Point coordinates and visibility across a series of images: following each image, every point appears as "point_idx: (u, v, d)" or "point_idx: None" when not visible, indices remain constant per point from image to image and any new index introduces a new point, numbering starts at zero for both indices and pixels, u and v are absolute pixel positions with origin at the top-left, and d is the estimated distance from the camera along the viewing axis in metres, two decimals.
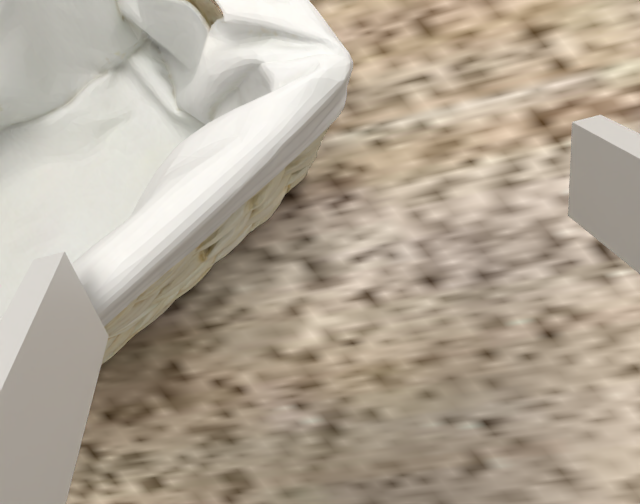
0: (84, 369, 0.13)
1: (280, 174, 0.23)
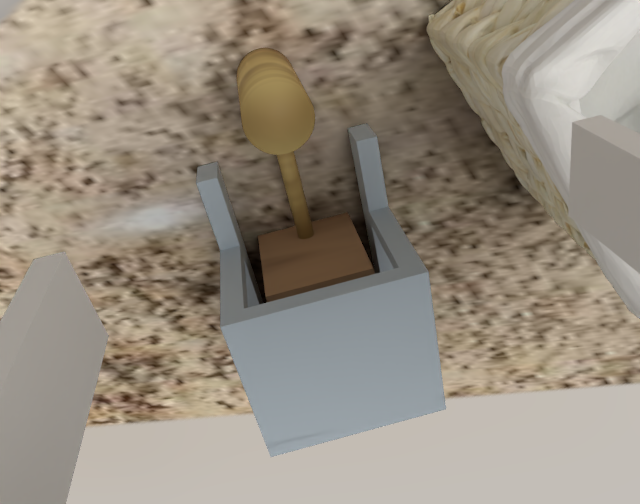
0: (84, 369, 0.13)
1: None
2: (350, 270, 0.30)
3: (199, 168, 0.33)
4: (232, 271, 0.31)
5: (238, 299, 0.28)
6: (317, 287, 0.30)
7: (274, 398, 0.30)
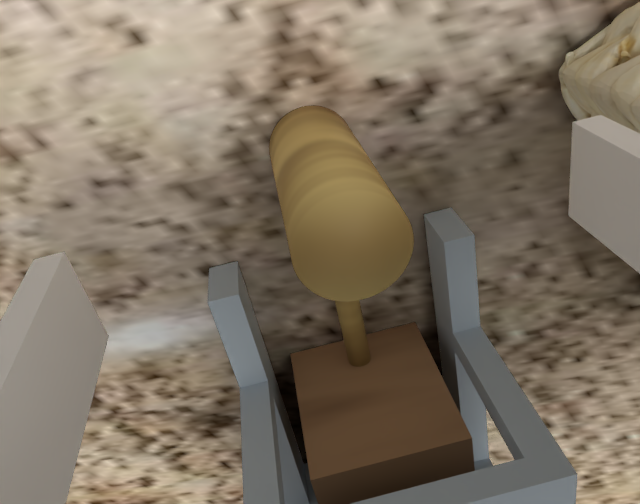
0: (83, 369, 0.13)
1: None
2: (436, 439, 0.20)
3: (211, 272, 0.23)
4: (259, 433, 0.21)
5: (271, 498, 0.18)
6: (387, 465, 0.20)
7: None
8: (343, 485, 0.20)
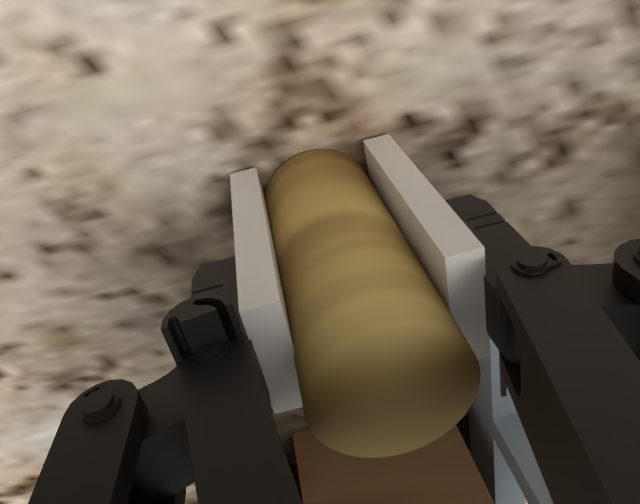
0: None
1: None
2: None
3: None
4: None
5: None
6: None
7: None
8: None
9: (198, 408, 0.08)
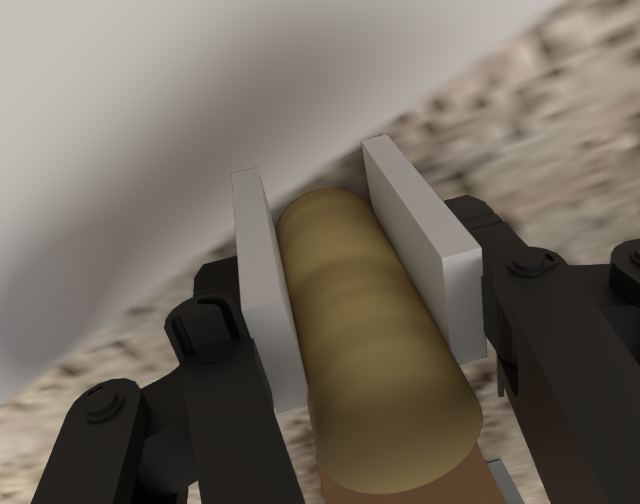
0: (282, 264, 0.15)
1: None
2: None
3: None
4: None
5: None
6: None
7: None
8: None
9: (201, 407, 0.08)
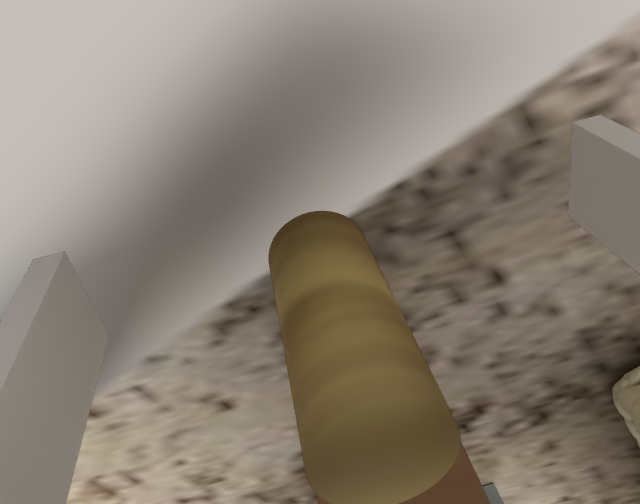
0: (83, 369, 0.13)
1: None
2: None
3: None
4: None
5: None
6: None
7: None
8: None
9: None
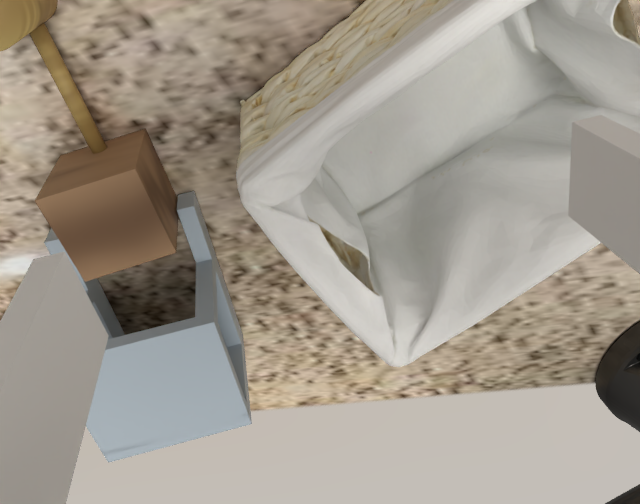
0: (84, 369, 0.13)
1: None
2: (115, 173, 0.32)
3: None
4: None
5: None
6: (84, 190, 0.32)
7: (102, 417, 0.37)
8: (59, 206, 0.32)
9: None
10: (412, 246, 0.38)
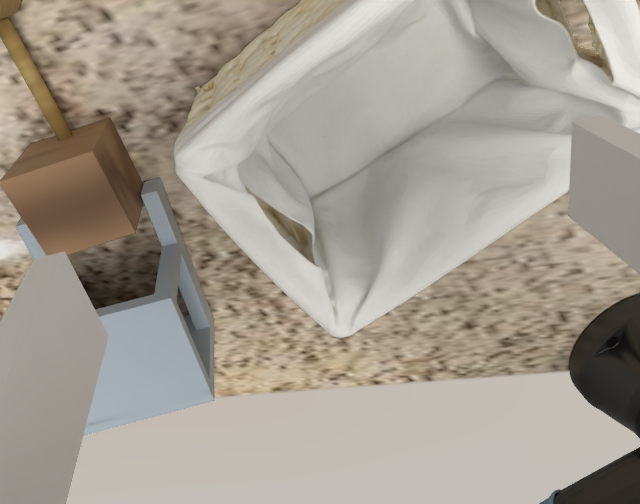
0: (84, 369, 0.13)
1: None
2: (74, 155, 0.34)
3: None
4: None
5: None
6: (44, 171, 0.34)
7: None
8: (22, 187, 0.34)
9: None
10: (362, 225, 0.39)
